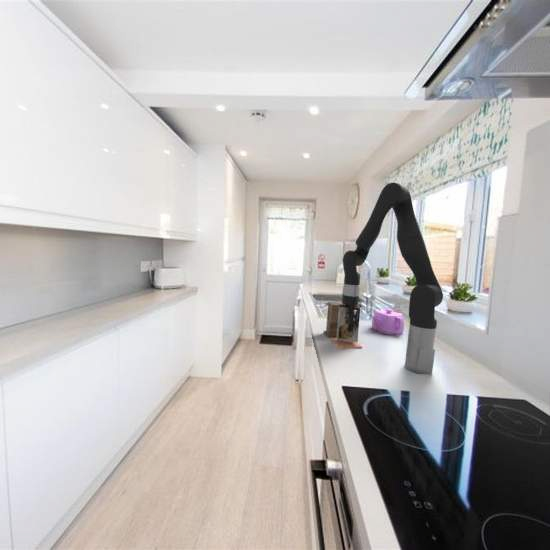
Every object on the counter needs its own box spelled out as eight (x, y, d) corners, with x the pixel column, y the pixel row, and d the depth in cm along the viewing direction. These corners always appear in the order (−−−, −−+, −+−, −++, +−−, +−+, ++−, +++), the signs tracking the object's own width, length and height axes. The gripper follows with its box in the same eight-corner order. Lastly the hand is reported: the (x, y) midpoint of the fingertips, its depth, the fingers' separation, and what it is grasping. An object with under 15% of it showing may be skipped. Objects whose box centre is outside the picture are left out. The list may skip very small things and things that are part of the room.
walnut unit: (354, 338, 151) (358, 305, 149) (327, 337, 149) (330, 304, 147) (349, 333, 159) (352, 302, 157) (323, 332, 157) (326, 301, 155)
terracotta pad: (361, 348, 136) (362, 346, 136) (338, 347, 135) (338, 346, 135) (352, 340, 147) (352, 338, 147) (331, 339, 146) (331, 338, 146)
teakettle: (403, 337, 158) (406, 314, 156) (369, 332, 164) (371, 310, 163) (403, 330, 173) (405, 308, 172) (372, 325, 180) (374, 304, 178)
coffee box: (355, 338, 144) (358, 305, 142) (357, 342, 137) (361, 308, 135) (336, 336, 144) (338, 303, 143) (337, 340, 138) (340, 306, 136)
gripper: (337, 291, 145) (334, 324, 147) (348, 296, 131) (345, 333, 133) (352, 291, 146) (349, 325, 148) (365, 297, 132) (361, 334, 134)
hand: (347, 328), depth 140 cm, fingers closed on coffee box, 7 cm apart
